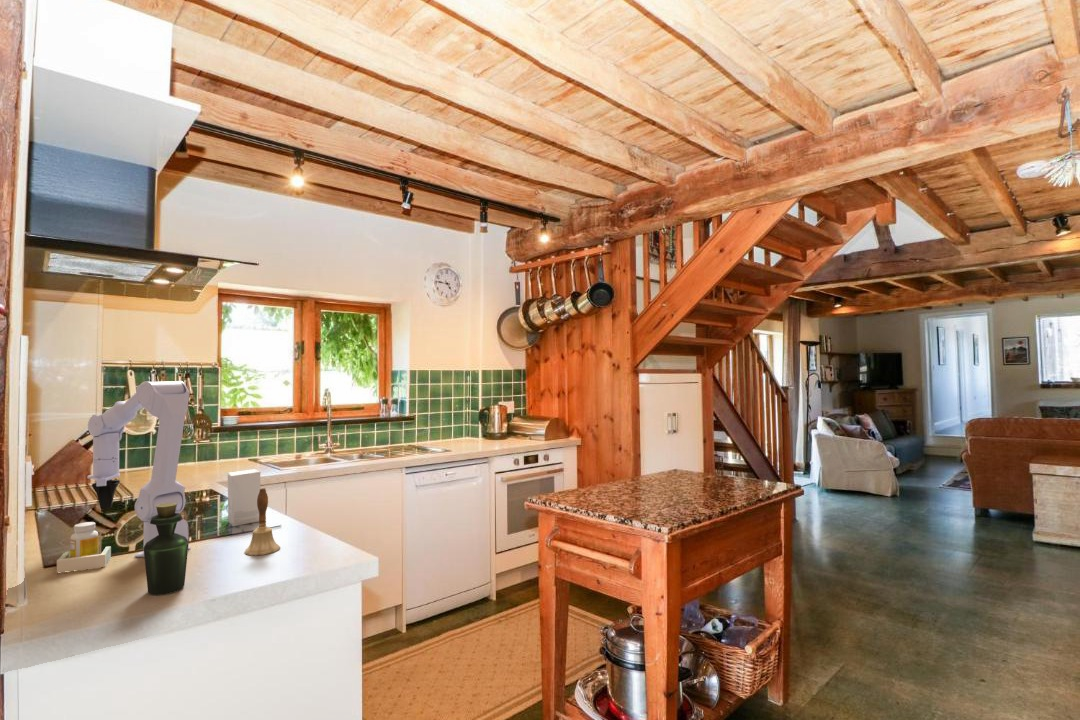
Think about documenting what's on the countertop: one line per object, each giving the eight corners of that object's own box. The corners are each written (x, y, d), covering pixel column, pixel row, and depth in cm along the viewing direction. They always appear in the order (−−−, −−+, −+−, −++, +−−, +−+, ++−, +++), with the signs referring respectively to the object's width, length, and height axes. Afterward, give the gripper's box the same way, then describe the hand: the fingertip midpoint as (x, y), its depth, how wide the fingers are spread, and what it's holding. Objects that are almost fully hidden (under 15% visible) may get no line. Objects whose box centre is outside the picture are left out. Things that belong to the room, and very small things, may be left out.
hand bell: (240, 550, 148) (241, 488, 148) (274, 543, 153) (274, 484, 154) (249, 558, 142) (249, 493, 142) (284, 551, 147) (284, 489, 147)
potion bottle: (194, 588, 122) (194, 504, 122) (149, 600, 116) (149, 511, 116) (181, 579, 127) (182, 498, 127) (138, 590, 121) (138, 505, 121)
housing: (64, 564, 138) (64, 551, 138) (110, 558, 142) (110, 546, 142) (56, 573, 131) (56, 560, 131) (105, 567, 136) (105, 554, 136)
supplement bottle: (64, 568, 135) (65, 527, 135) (78, 560, 140) (78, 521, 141) (90, 566, 136) (90, 526, 136) (103, 559, 141) (103, 520, 142)
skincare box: (256, 517, 181) (256, 468, 181) (261, 522, 176) (261, 471, 176) (226, 522, 175) (226, 471, 176) (231, 527, 170) (231, 474, 170)
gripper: (93, 456, 160) (93, 504, 160) (81, 463, 147) (81, 516, 147) (124, 454, 163) (123, 501, 163) (115, 461, 151) (115, 512, 150)
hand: (106, 508), depth 155 cm, fingers closed
